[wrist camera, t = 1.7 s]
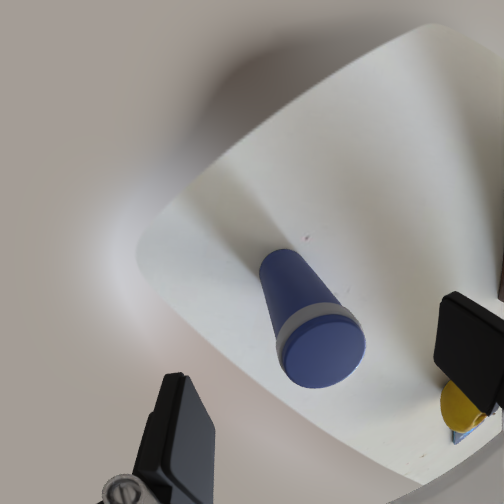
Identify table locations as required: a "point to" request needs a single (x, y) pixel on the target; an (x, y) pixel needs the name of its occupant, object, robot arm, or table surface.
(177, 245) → the table surface
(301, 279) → the handle
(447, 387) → the apple
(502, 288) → the holder
